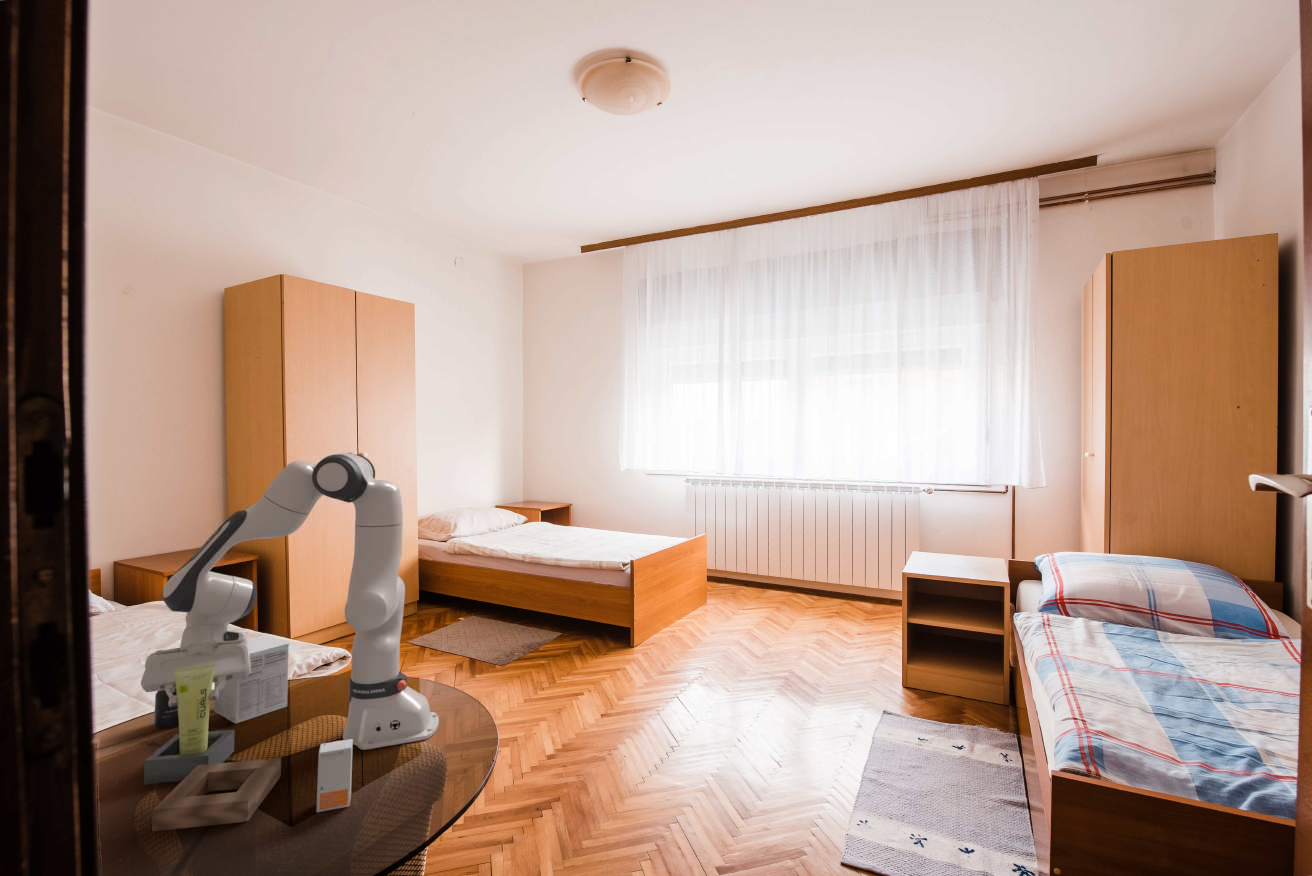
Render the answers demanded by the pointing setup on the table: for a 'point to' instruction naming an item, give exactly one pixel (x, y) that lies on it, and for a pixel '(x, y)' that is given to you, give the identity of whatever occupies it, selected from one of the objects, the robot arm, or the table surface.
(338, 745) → the skincare box
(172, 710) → the supplement bottle
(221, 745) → the graphite collar stand
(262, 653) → the supplement box
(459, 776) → the table surface
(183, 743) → the tube
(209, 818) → the walnut socket block
